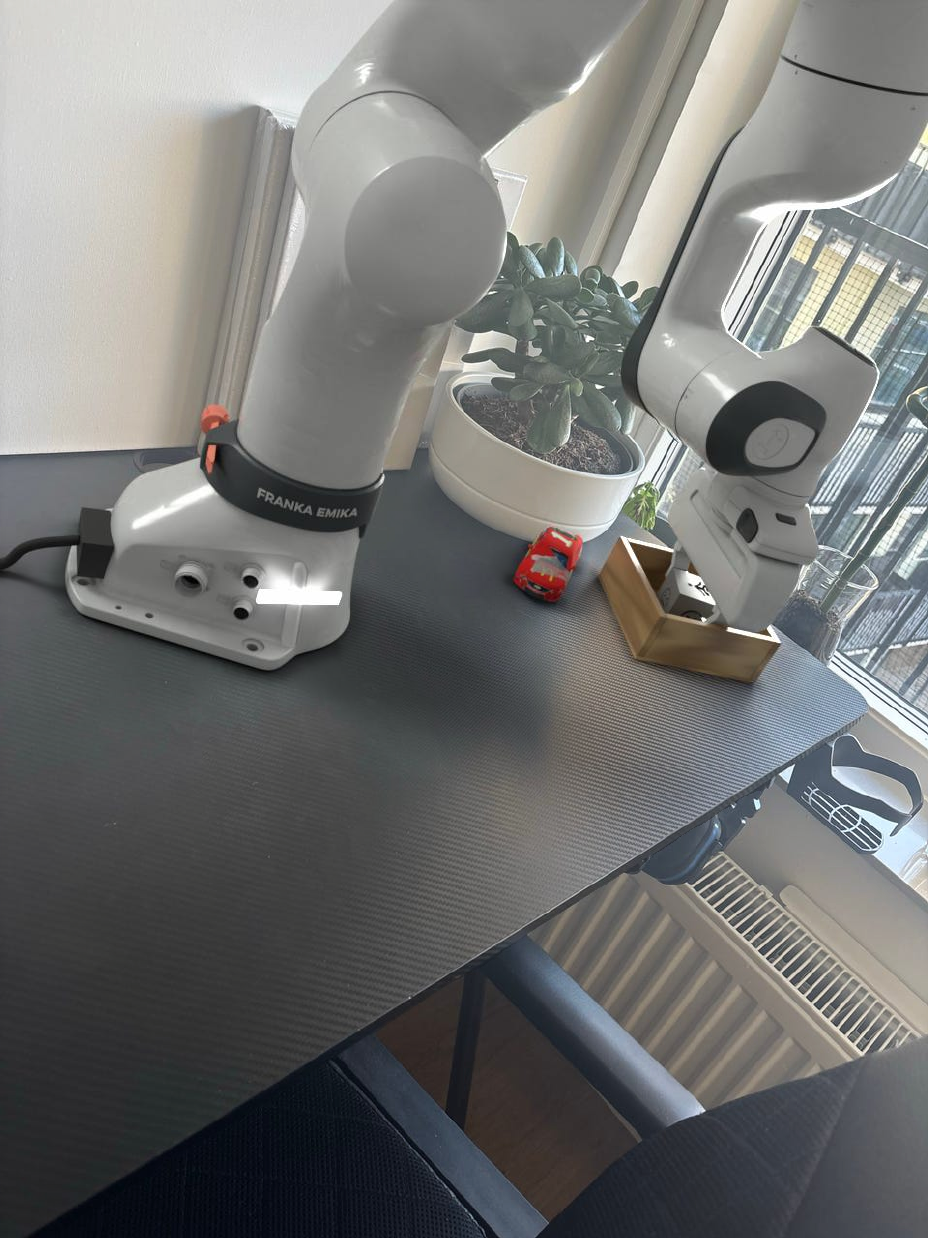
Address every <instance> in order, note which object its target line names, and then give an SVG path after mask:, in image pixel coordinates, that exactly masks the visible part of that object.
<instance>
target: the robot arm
mask: <svg viewBox="0 0 928 1238" xmlns="http://www.w3.org/2000/svg"><path fill="white" fill-rule="evenodd" d="M648 2H649V0H393V1H392V2H391V3H390V4H389V5H388V6H387V8H385V10H384V11H383V12H382V13H381V14H380V15H379V16H378V18H377V19H376V20H375V21H374V22H373V23H372V24H371V26H370V27H369V28H368V29H367V30H366V31H365V32H364V34H363V35H362V36H361V37H360V38H359V39H358V41H357V42H356V43H355V45H354V46H353V47H352V48H351V50H349V52H348V53H347V54H346V55H345V57H344V58H343V59H342V60H341V62H340V63H339V64H338V65H337V66H336V68H335V69H334V70H333V72H332V73H331V74H330V76H329V77H328V78H327V79H326V80H325V81H324V82H322V83H321V84H320V85H318V87H317V88H316V89H315V90H314V91H313V92H312V93H311V95H310V96H309V97H308V98H307V100H306V102H305V103H304V105H303V107H302V109H301V111H300V113H299V116H298V118H297V119H298V120H297V121H296V125H295V128H294V132H293V138H292V142H291V143H292V145H291V169H292V175H293V179H294V182H295V186H296V189H297V191H298V193H299V195H300V198H301V201H302V203H303V205H304V228H303V234H302V238H301V241H300V245H299V246H300V247H299V249H298V253H297V255H296V258H295V260H294V264H293V267H292V269H291V272H290V274H289V277H288V279H287V281H286V283H285V286H284V288H283V291H282V293H281V295H280V297H279V300H278V302H277V304H276V306H275V308H274V311H273V312H272V314H271V316H270V317H269V318H268V319H267V320H266V321H265V323H264V324H263V327H262V328H261V331H260V334H259V335H260V336H259V340H258V344H257V348H256V352H255V356H254V360H253V363H252V367H251V371H250V375H249V380H248V384H247V387H246V391H245V395H244V399H243V404H242V407H241V412H240V415H239V418H236V419H233V420H230V415H229V413H227V412H228V410H227V409H226V408H225V407H223V406H222V405H220V404H210V405H208V406H207V407H205V408H204V409H203V412H202V413H201V422H200V429H201V432H202V433H203V434H204V435H205V436H204V440H203V443H202V447H201V452H200V456H199V457H196V458H193V459H189V460H186V461H183V462H180V463H176V464H173V465H170V466H165V467H163V468H158V469H155V470H152V471H148V472H144V473H142V474H140V475H138V476H136V478H134V479H133V480H132V481H130V483H129V484H128V485H127V486H126V487H125V488H124V490H123V491H122V492H121V495H120V496H119V497H118V499H117V500H116V502H115V504H114V506H113V507H111V508H105V509H101V508H92V507H85V506H81V508H80V514H79V521H78V526H77V533H76V534H70V535H56V536H55V535H53V536H42V537H37V538H32V539H29V540H27V541H23V542H21V543H19V544H18V545H17V546H15V547H14V548H13V549H12V550H11V551H10V552H9V553H8V554H7V555H6V556H4V557H2V558H0V571H2V570H5V569H9V568H10V567H13V566H14V565H15V564H17V562H18V561H19V560H20V559H21V558H23V557H24V555H26V554H29V553H31V552H34V551H39V550H42V549H50V548H62V547H70V550H69V553H68V558H67V561H66V565H65V572H64V573H65V574H64V581H65V582H64V583H65V589H66V592H67V596H68V597H69V599H70V601H71V604H72V605H73V606H74V608H75V609H76V610H77V611H78V612H79V614H81V615H83V616H87V617H89V618H92V619H94V620H95V619H96V620H99V621H102V622H105V623H107V624H112V625H115V626H118V627H121V628H124V629H128V630H130V631H131V630H132V631H134V632H138V633H141V634H144V635H148V636H150V637H154V638H157V639H160V640H163V641H166V642H171V643H174V644H177V645H180V646H183V647H186V648H190V649H194V650H196V651H200V652H202V653H203V652H204V653H206V654H209V655H212V656H217V657H220V658H223V659H226V660H230V661H233V662H236V663H239V664H243V665H246V666H249V667H252V668H256V669H259V670H263V671H274V670H276V669H279V668H282V666H284V665H286V664H287V663H288V662H290V660H291V659H293V658H294V657H295V656H297V655H299V654H304V653H307V652H311V651H315V650H318V649H321V648H324V647H326V646H327V645H328V646H329V645H330V644H331V643H333V642H335V641H336V640H338V639H339V638H340V637H341V636H342V635H343V634H344V632H345V631H346V630H347V628H348V627H349V623H350V619H351V592H352V591H351V590H352V582H353V575H354V568H355V562H356V559H357V554H358V549H359V544H360V541H361V539H362V538H364V537H365V534H366V532H367V529H368V527H369V525H371V522H372V521H373V518H374V515H375V512H376V509H377V506H378V504H379V501H380V498H381V494H382V491H383V487H384V486H383V485H384V481H385V477H386V476H385V474H384V465H385V464H384V463H385V462H386V458H387V456H388V453H389V451H390V448H391V446H392V443H393V441H394V437H395V434H396V431H397V429H398V426H399V423H400V420H401V417H402V415H403V412H404V409H405V406H406V404H407V401H408V398H409V396H410V393H411V391H412V389H413V388H414V385H415V382H416V380H417V378H418V377H419V374H420V373H421V371H422V369H423V368H424V366H425V364H426V363H427V361H428V359H429V358H430V356H431V355H432V353H433V352H434V350H435V348H436V346H437V345H438V343H439V342H440V340H441V339H442V337H443V336H444V335H445V333H446V331H447V330H448V328H449V326H450V325H451V324H452V323H453V320H455V319H457V318H459V317H460V316H462V315H464V314H465V313H467V312H469V311H470V310H471V309H473V308H474V307H475V306H476V305H478V303H479V302H480V301H481V300H482V299H483V298H484V297H485V296H486V295H487V294H488V292H489V291H490V290H491V288H492V287H493V285H494V283H495V282H496V280H497V278H498V276H499V274H500V272H501V269H502V267H503V263H504V260H505V257H506V252H507V246H508V245H507V244H508V227H507V220H506V214H505V210H504V205H503V202H502V196H501V193H500V191H499V187H498V184H497V181H496V179H495V176H494V174H493V170H492V168H491V166H490V164H489V163H488V160H487V159H488V158H489V157H490V156H491V155H492V154H493V153H494V152H495V151H496V150H497V149H499V148H500V147H501V146H502V145H503V144H504V143H506V141H507V140H508V139H510V138H511V137H512V136H513V135H514V134H515V133H517V131H519V130H520V129H521V128H523V127H524V126H525V125H527V123H529V122H530V121H531V120H532V119H533V118H535V117H537V115H539V114H540V113H542V112H543V111H545V110H546V109H548V108H550V107H552V106H553V105H555V104H557V103H560V102H562V101H564V100H566V99H568V98H569V97H570V96H572V95H573V94H574V93H576V92H577V91H578V90H579V89H580V88H581V87H583V85H584V84H585V83H586V81H587V80H588V78H589V77H591V75H592V73H593V72H594V71H595V69H596V68H597V67H598V66H599V64H600V63H601V62H602V60H604V58H605V57H606V55H607V54H608V53H609V52H610V50H611V49H612V48H613V46H615V44H616V43H617V41H618V40H619V39H620V38H621V36H622V35H623V33H624V32H625V31H626V30H627V28H628V27H629V26H630V25H631V23H632V22H633V21H634V19H635V18H636V17H637V16H638V15H639V13H640V12H641V10H642V9H643V8H644V7H645V6H646V4H647V3H648ZM780 53H781V54H780V55H779V57H778V60H777V64H776V67H775V69H774V72H773V74H772V77H771V79H770V82H769V83H768V86H767V88H766V90H765V93H764V95H763V97H762V99H761V100H760V103H759V104H758V106H757V108H756V109H755V111H754V113H753V114H752V116H751V118H750V119H749V121H748V122H747V123H746V124H744V125H743V126H741V127H739V128H738V129H737V130H736V131H735V132H734V133H733V134H732V135H731V136H730V137H729V139H727V141H726V142H725V144H724V145H723V147H722V149H720V152H719V153H718V155H717V157H716V159H715V160H714V162H713V164H712V166H711V168H710V170H709V172H708V174H707V176H706V178H705V181H704V183H703V185H702V187H701V190H700V192H699V194H698V197H697V198H696V201H695V203H694V205H693V208H692V210H691V212H690V215H689V217H688V220H687V221H686V224H685V226H684V228H683V231H682V233H681V236H680V239H679V241H678V243H677V246H676V247H675V251H674V252H673V255H672V257H671V260H670V262H669V265H668V266H667V269H666V271H665V274H664V276H663V279H662V281H661V283H660V285H659V288H658V290H657V292H656V294H655V296H654V298H653V300H652V302H651V304H650V306H649V308H648V309H647V311H646V312H645V314H644V316H643V317H642V319H641V320H640V321H639V323H638V325H637V326H636V328H635V329H634V331H633V332H632V334H631V335H630V337H629V338H628V339H629V340H628V342H627V344H626V346H625V348H624V351H623V355H622V360H621V363H620V381H621V386H622V389H623V392H624V395H626V398H628V400H629V401H630V402H631V403H632V404H634V405H635V407H638V408H639V409H641V410H642V411H643V412H645V413H646V414H647V415H649V416H650V417H651V418H653V419H654V420H655V421H658V422H659V423H660V424H661V425H662V426H663V427H664V428H665V429H666V430H667V431H668V432H669V433H670V434H671V435H672V436H674V437H675V438H676V439H677V440H678V441H679V442H680V443H681V444H682V445H683V446H685V447H686V448H688V449H689V450H690V451H692V453H694V454H695V456H697V457H698V458H699V459H700V460H701V461H702V462H704V463H703V465H702V466H701V467H700V468H698V469H696V470H695V471H694V472H692V474H691V475H690V476H689V477H688V478H687V480H686V481H685V483H684V484H683V485H682V487H681V488H680V490H679V492H678V493H677V494H676V496H675V498H674V499H673V501H672V502H671V504H670V506H669V508H668V512H667V519H666V521H667V523H668V525H669V527H670V528H671V530H672V532H673V533H674V535H675V538H676V541H675V543H674V545H673V548H672V549H673V554H672V560H671V565H670V567H669V569H668V571H667V572H666V574H665V577H666V578H667V576H668V574H669V573H670V571H671V569H672V567H673V568H676V569H679V570H682V571H685V572H688V568H689V565H690V562H692V564H693V566H694V567H695V569H696V571H697V572H698V574H699V576H700V577H701V579H702V581H703V582H704V584H705V586H706V588H707V589H708V591H709V593H710V594H711V596H712V598H713V599H714V601H715V603H716V604H715V606H714V607H713V609H712V611H713V613H714V614H713V615H712V616H710V617H709V618H708V619H707V618H703V617H700V619H699V620H698V621H702V622H706V623H711V624H715V625H720V626H724V627H728V626H730V627H733V628H736V629H740V630H744V631H749V632H760V631H762V630H765V629H767V628H768V627H769V626H771V625H772V624H773V623H774V621H775V619H776V618H777V617H778V616H779V614H780V612H781V611H782V610H783V608H784V606H785V605H786V604H787V602H788V601H789V599H790V597H791V595H792V594H793V592H795V591H794V590H795V589H796V587H797V585H798V582H799V579H800V576H801V566H810V565H812V563H814V561H815V560H816V558H817V556H818V555H819V551H820V546H819V543H818V539H817V536H816V533H815V529H814V525H813V522H812V516H811V508H810V506H809V504H808V503H809V501H810V500H811V498H812V497H813V495H814V494H815V492H816V490H817V488H818V483H819V480H820V477H821V476H822V473H823V471H824V469H825V468H826V467H828V465H829V464H830V463H831V462H832V461H834V460H835V459H836V457H838V455H840V453H841V452H842V450H843V449H844V447H845V446H846V444H847V442H848V441H849V440H850V437H851V436H852V434H853V433H854V431H855V430H856V428H857V426H858V424H859V423H860V421H861V419H862V417H863V416H864V413H865V412H866V410H867V408H868V406H869V404H870V401H871V399H872V397H873V395H874V393H875V390H876V387H877V384H878V381H879V376H880V371H879V369H878V366H877V364H876V362H875V360H874V359H873V358H872V357H871V356H869V355H868V354H866V353H865V352H863V351H861V350H860V349H858V347H856V346H854V345H853V344H851V343H850V342H849V341H847V340H845V339H844V338H842V337H841V336H839V335H838V334H836V333H835V332H834V331H832V330H830V329H828V328H825V327H822V326H816V325H810V326H808V327H807V328H806V329H805V330H804V331H803V332H802V333H801V334H800V336H799V337H798V338H797V340H795V341H794V342H792V343H790V344H788V345H786V346H783V347H780V348H776V349H774V350H769V351H758V352H754V351H753V350H751V349H750V348H749V347H748V346H746V345H745V344H744V343H742V342H741V341H740V340H738V339H737V338H736V337H734V336H733V335H732V334H731V333H730V332H729V330H728V328H727V325H726V323H725V316H724V313H725V312H724V311H725V306H726V303H727V301H728V299H729V297H730V296H731V294H732V291H733V289H734V287H735V284H736V282H737V281H738V278H739V276H740V274H741V273H742V270H743V268H744V267H745V265H746V262H747V260H748V258H749V256H750V253H751V251H752V250H753V247H754V245H755V243H756V242H757V239H758V237H759V235H760V234H761V232H762V231H763V230H764V228H766V226H767V225H768V224H769V223H770V222H771V221H772V220H773V219H775V218H776V217H777V216H779V215H782V214H784V213H786V212H790V211H802V210H803V211H805V210H822V209H823V210H824V209H832V208H839V207H844V206H847V205H850V204H853V203H855V202H858V201H861V200H863V199H865V198H867V197H869V196H871V195H872V194H874V193H876V192H878V191H879V190H880V189H882V188H884V187H885V186H886V185H888V184H889V183H890V182H891V181H892V180H894V179H895V178H896V177H898V175H899V174H900V172H901V171H902V170H903V168H904V167H905V165H906V164H907V163H908V161H909V160H910V158H911V157H912V155H913V153H914V152H915V150H916V148H917V147H918V145H919V143H920V141H921V139H922V137H923V135H924V132H925V130H926V129H927V126H928V0H799V2H798V4H797V8H796V10H795V13H794V15H793V18H792V20H791V23H790V25H789V28H788V32H787V34H786V37H785V40H784V43H783V45H782V49H781V52H780ZM800 565H801V566H800Z"/></svg>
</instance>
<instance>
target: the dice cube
mask: <svg viewBox="0 0 928 1238" xmlns="http://www.w3.org/2000/svg"><path fill="white" fill-rule="evenodd" d="M656 597H657V599H658V601H659V603H660V605H661V607H662V609H663V611H664V613H667V614H671V615H675V616H680V617H684V618H689V619H693V620H699V619H700V617H703V618H707V619H708V618H709V617H710V616H712V615H713V614H714V613H713V611H712V609H713V607H714V606H715V604H716V603H715V601H714V599H713V598H712V596H711V594H710V593H709V591H708V589H707V588H706V586H705V584H704V582H703V581H702V579H701V577H699V576H696V575H693V574H690V573H688V572H685V571H682V570H679V569H676V568H673V567H672V569H671V571H670V573H669V574H668V576H667V578H666V579H665V581H664V583H663V585H662V586H661V588H660V590H659V591H658V593H657V595H656Z"/></svg>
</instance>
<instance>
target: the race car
mask: <svg viewBox="0 0 928 1238" xmlns="http://www.w3.org/2000/svg"><path fill="white" fill-rule="evenodd" d="M537 535H538V536H537ZM537 535H536V536H535V539H534V541H533V542H532V544H530V543H529V544H528V545H527V548H528V550H527V552H526V554H525V556H524V557H523V559H522V560H521V562H520V564H519V566H518V567H517V569H516V570H517V571H516V572H515V574H514V576H513V578H512V582H514V583H515V584H516V585H517V587H518V588H519V589H520V590H522V591H524V592H525V593H527V594H528V595H530V596H532V597H534V598H536V599H539V600H542V601H544V602H550V603H558V602H559V600H560V599H561V597H562V595H563V594H564V592H565V590H566V588H567V586H568V583H569V580H570V578H571V576H572V574H573V572H574V571H577V570H578V567H576V565H577V563H578V561H579V559H580V557H581V555H582V549H583V543H584V541H583V539H582V537H581V536H580V535H579V534H578V535H573V534H571V533H569V532H566V531H564V530H561V529H558V528H554V527H549V528H547V529H546V530H545V531H543V532H541V533H540V534H538V533H537Z"/></svg>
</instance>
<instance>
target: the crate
mask: <svg viewBox="0 0 928 1238" xmlns="http://www.w3.org/2000/svg"><path fill="white" fill-rule="evenodd" d="M673 549H674V548H669V547H665V546H661V545H658V544H654V543H649V542H645V541H641V540H637V539H634V538H631V537H625V536H623V535H619V536H618V538H617V540H616V542H615V544H614V545H613V548H612V549H611V551H610V553H609V555H608V556H607V558H606V560H605V562H604V564H603V566H602V568H601V570H600V572H599V573H598V575H597V577H598V579H599V581H600V584H601V586H602V588H603V590H604V593H605V595H606V598H607V600H608V602H609V604H610V606H611V609H612V610H613V613H614V615H615V617H616V620H617V622H618V624H619V627H620V629H621V631H622V633H623V635H624V637H625V640H626V642H627V644H628V646H629V649H630V651H631V653H632V656H633V658H634V660H638V661H643V662H647V663H654V664H657V665H662V666H667V667H672V668H677V669H683V670H686V671H692V672H696V673H700V674H701V673H702V674H706V675H710V676H715V677H720V678H726V679H730V680H734V681H735V680H736V681H740V682H745V683H749V684H755V683H756V681H757V680H758V678H759V677H760V676H761V674H762V673H763V671H764V670H765V669H766V667H767V666H768V664H769V663H770V662H771V660H772V659H773V657H774V655H775V654H776V653H777V651H778V650H779V648H780V647H781V645H783V644H782V642H781V641H780V638H779V637H778V636H777V634H776V632H775V631H774V629H773V628H772V626H771V625H770V626H769V627H768V628H767V629H765V630H762V631H760V632H749V631H744V630H740V629H736V628H733V627H730V626H728V627H724V626H720V625H715V624H711V623H706V622H702V621H698V620H693V619H689V618H684V617H680V616H675V615H671V614H667V613H664V611H663V609H662V607H661V605H660V603H659V601H658V599H657V597H656V595H657V593H658V591H659V590H660V588H661V586H662V585H663V583H664V581H665V579H666V577H665V574H666V572H667V571H668V569H669V567H670V565H671V560H672V554H673ZM688 573H690V574H693V575H696V576H699V574H698V572H697V571H696V569H695V567H694V566H693V564H692V562H690V565H689V568H688ZM699 577H700V576H699Z"/></svg>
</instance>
